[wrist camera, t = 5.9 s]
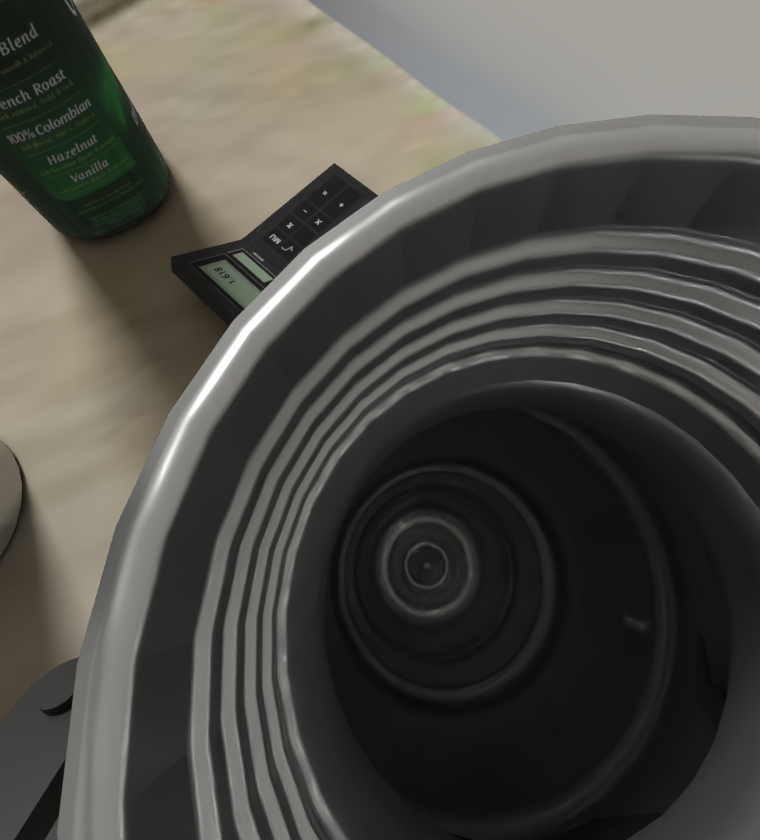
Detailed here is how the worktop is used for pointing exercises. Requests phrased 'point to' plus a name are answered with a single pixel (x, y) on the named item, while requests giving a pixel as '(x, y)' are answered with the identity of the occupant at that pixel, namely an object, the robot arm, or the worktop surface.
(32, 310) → the worktop surface
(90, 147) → the coffee jar
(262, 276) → the calculator
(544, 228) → the silver metal bottle
